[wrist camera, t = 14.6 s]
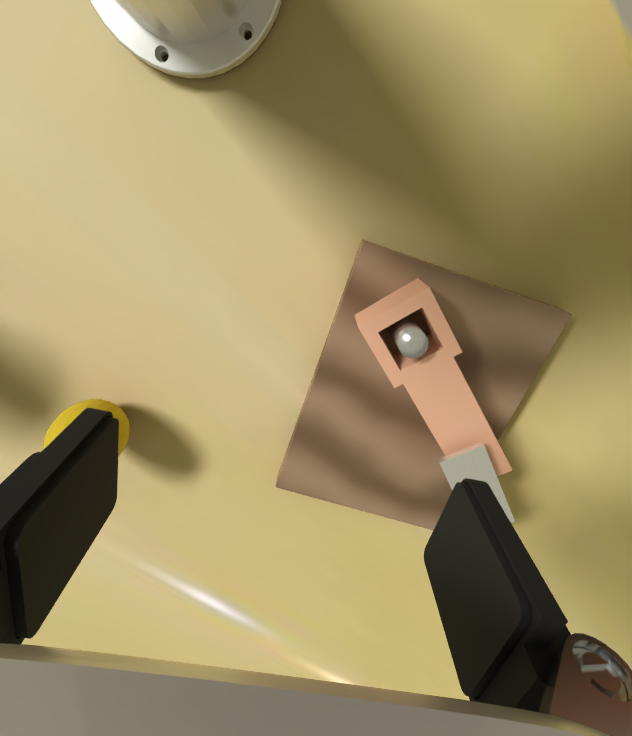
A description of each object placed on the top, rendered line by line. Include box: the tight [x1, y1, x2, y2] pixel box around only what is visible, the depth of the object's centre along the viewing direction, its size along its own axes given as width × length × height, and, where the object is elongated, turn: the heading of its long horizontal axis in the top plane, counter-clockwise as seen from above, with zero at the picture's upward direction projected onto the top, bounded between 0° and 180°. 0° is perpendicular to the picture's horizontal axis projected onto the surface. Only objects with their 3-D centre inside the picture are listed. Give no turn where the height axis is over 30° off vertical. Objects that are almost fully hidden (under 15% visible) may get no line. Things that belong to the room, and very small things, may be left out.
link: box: [355, 278, 512, 477], centre depth 31 cm, size 17×5×4 cm, turn 32°
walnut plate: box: [276, 240, 572, 530], centre depth 35 cm, size 23×17×2 cm
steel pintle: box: [389, 315, 429, 358], centre depth 29 cm, size 2×2×4 cm
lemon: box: [43, 399, 130, 456], centre depth 32 cm, size 6×6×8 cm
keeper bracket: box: [438, 442, 515, 523], centre depth 34 cm, size 8×4×6 cm, turn 27°
